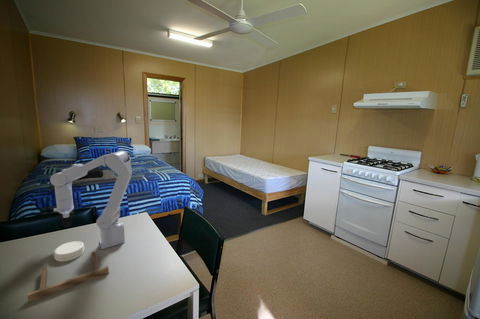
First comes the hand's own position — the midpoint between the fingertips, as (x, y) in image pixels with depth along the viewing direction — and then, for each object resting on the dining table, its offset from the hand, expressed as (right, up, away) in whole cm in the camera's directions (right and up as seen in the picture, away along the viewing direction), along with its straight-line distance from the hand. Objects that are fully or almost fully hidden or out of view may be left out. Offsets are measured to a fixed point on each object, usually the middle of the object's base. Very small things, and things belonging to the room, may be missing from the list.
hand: (67, 226), depth 97 cm
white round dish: (+6, -10, -6) cm, 13 cm away
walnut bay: (+15, -13, -17) cm, 26 cm away
